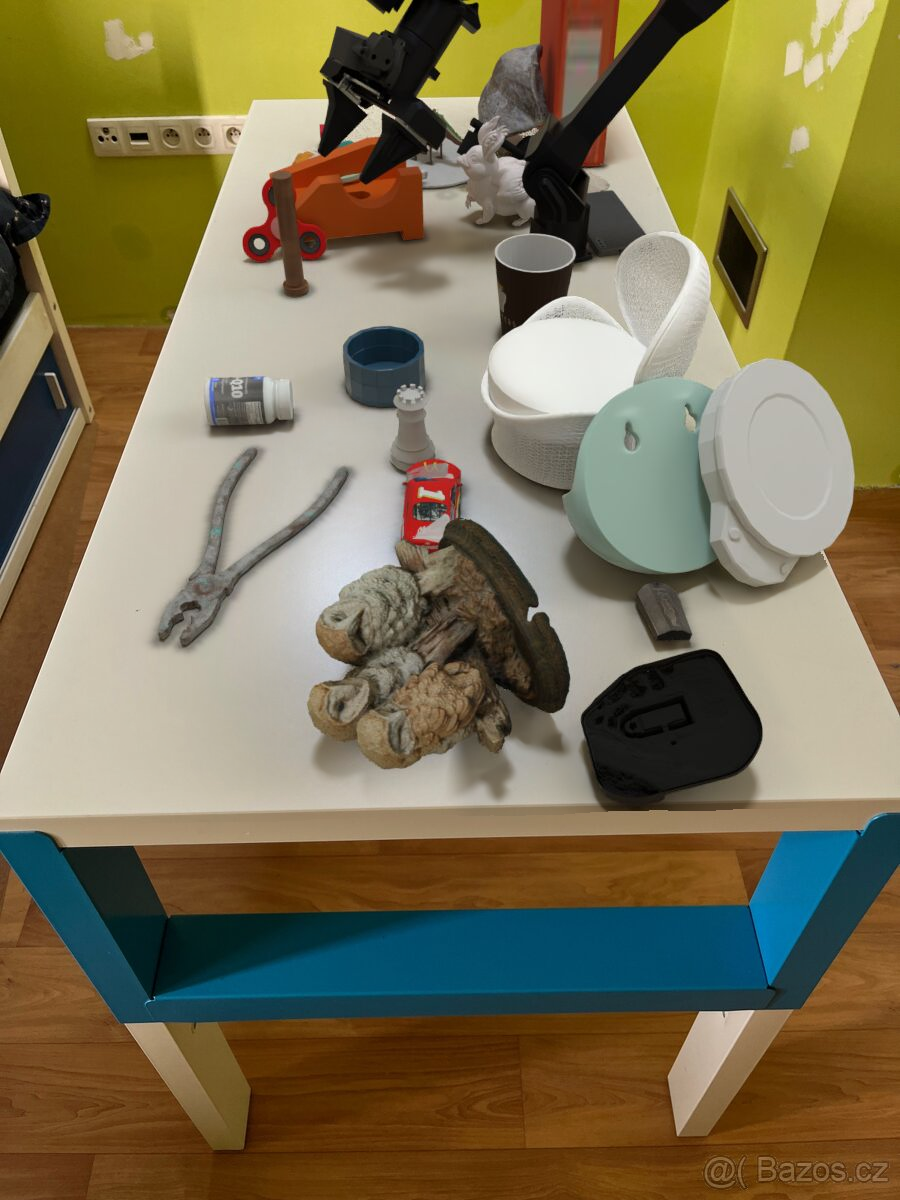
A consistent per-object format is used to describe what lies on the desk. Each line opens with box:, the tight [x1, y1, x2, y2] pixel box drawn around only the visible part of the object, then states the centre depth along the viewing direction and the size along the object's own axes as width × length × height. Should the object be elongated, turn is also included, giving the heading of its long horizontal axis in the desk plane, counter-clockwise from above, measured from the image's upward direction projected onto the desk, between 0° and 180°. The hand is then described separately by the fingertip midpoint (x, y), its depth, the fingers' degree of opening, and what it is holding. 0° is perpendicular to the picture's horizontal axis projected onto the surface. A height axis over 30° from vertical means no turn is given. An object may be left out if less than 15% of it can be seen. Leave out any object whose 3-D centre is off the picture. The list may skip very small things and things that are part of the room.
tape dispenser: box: [268, 136, 425, 243], centre depth 128 cm, size 18×13×8 cm
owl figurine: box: [306, 516, 571, 770], centre depth 72 cm, size 18×12×17 cm
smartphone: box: [586, 189, 652, 257], centre depth 130 cm, size 7×1×15 cm
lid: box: [698, 357, 856, 588], centre depth 85 cm, size 17×20×3 cm
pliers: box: [157, 446, 349, 646], centre depth 88 cm, size 11×1×25 cm
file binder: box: [538, 0, 621, 167], centre depth 138 cm, size 8×17×32 cm, turn 4°
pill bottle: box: [203, 375, 294, 427], centre depth 100 cm, size 5×5×8 cm
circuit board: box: [469, 126, 523, 153], centre depth 149 cm, size 8×8×1 cm
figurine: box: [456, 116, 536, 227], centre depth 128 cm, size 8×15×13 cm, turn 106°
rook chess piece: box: [389, 384, 437, 473], centre depth 94 cm, size 4×4×8 cm
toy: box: [241, 177, 327, 263], centre depth 122 cm, size 10×10×1 cm
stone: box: [583, 169, 611, 193], centre depth 139 cm, size 8×14×2 cm, turn 39°
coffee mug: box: [494, 233, 576, 338], centre depth 110 cm, size 12×9×10 cm
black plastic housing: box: [580, 648, 764, 807], centre depth 72 cm, size 12×10×5 cm
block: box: [634, 581, 693, 642], centre depth 81 cm, size 4×6×2 cm, turn 10°
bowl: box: [342, 325, 426, 408], centre depth 104 cm, size 8×8×4 cm
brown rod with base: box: [272, 170, 310, 298], centre depth 115 cm, size 3×3×14 cm
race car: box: [400, 458, 463, 553], centre depth 89 cm, size 13×5×4 cm, turn 177°
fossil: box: [477, 43, 549, 139], centre depth 141 cm, size 15×14×10 cm
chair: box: [480, 230, 712, 491], centre depth 91 cm, size 20×20×20 cm
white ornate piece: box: [444, 116, 533, 191], centre depth 138 cm, size 6×11×13 cm
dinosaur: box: [406, 106, 469, 189], centre depth 141 cm, size 18×18×11 cm
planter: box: [561, 376, 719, 575], centre depth 86 cm, size 19×7×16 cm
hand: (341, 168), depth 113 cm, fingers open, 9 cm apart
